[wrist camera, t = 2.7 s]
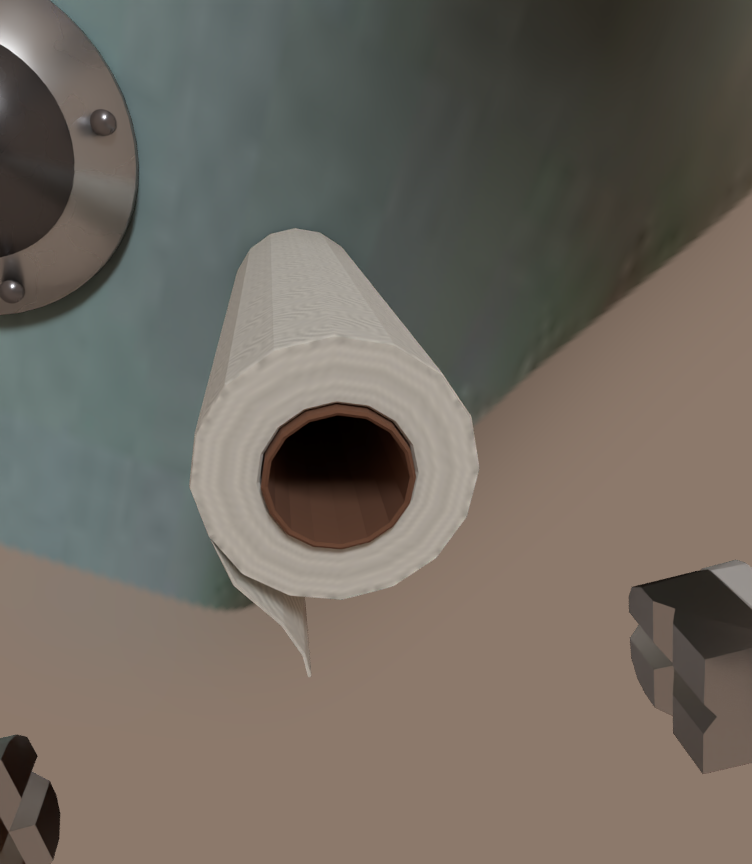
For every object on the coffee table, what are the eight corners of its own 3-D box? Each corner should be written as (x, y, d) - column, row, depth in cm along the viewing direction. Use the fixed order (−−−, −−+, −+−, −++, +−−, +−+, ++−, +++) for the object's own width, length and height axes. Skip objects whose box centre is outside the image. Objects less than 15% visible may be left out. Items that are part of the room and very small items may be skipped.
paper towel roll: (293, 199, 32) (333, 269, 13) (384, 289, 34) (541, 468, 15) (192, 312, 33) (85, 537, 14) (286, 392, 36) (310, 685, 16)
